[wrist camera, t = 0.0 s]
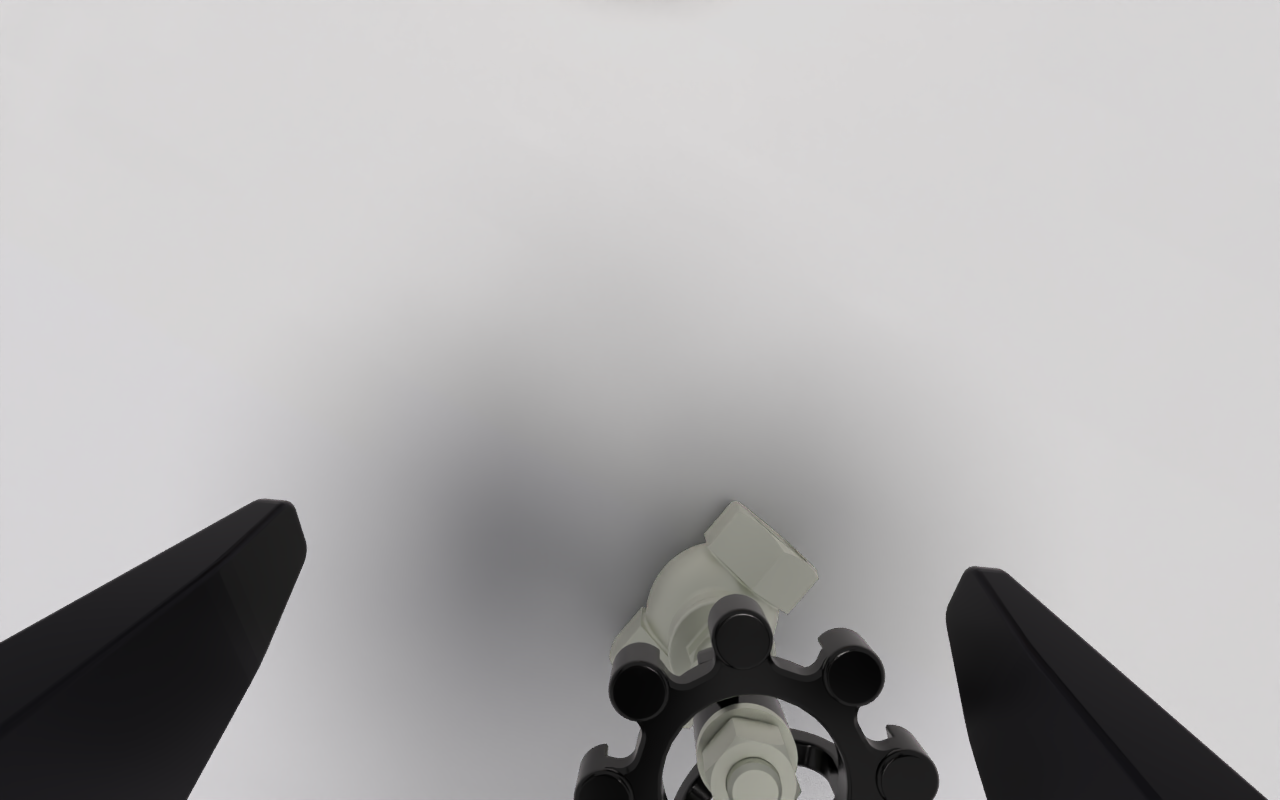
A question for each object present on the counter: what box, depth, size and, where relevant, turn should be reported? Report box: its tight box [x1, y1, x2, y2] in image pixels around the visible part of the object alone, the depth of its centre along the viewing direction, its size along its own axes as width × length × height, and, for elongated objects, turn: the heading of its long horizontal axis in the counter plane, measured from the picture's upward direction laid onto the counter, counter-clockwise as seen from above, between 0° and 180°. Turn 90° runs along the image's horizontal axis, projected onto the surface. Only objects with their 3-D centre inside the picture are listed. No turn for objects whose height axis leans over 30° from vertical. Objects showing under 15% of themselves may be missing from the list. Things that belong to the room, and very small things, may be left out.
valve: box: [574, 501, 939, 800], centre depth 18 cm, size 7×7×12 cm
